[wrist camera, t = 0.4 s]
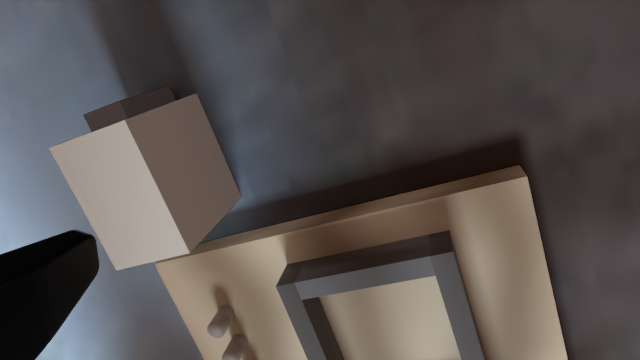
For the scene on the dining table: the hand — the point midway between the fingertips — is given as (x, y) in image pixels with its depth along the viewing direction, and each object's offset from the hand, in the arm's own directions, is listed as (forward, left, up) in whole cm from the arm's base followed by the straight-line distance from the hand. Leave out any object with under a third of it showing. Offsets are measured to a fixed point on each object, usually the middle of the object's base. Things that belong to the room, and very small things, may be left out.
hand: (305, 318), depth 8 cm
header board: (-4, -11, -14) cm, 18 cm away
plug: (-10, +1, -14) cm, 17 cm away
